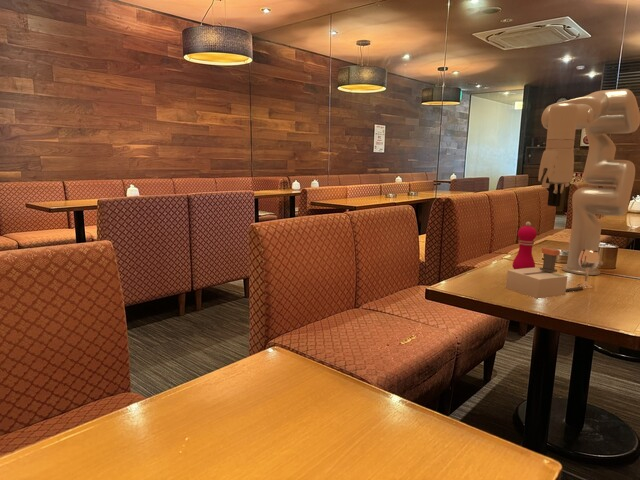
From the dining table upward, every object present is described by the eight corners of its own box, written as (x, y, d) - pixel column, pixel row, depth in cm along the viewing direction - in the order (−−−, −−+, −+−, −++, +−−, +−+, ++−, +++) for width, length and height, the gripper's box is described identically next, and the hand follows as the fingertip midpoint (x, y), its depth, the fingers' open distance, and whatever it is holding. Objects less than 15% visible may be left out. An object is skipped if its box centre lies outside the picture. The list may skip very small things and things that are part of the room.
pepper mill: (529, 275, 161) (535, 220, 157) (536, 281, 154) (543, 223, 150) (508, 274, 162) (514, 219, 158) (515, 280, 155) (521, 222, 151)
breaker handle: (546, 268, 145) (548, 247, 143) (557, 271, 141) (560, 250, 139) (538, 269, 143) (541, 248, 142) (550, 272, 139) (553, 251, 138)
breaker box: (554, 282, 153) (556, 265, 152) (587, 292, 142) (589, 273, 141) (505, 288, 144) (507, 269, 143) (537, 299, 133) (539, 279, 132)
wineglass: (575, 286, 148) (580, 251, 146) (575, 282, 153) (579, 248, 151) (595, 289, 145) (601, 253, 143) (594, 285, 150) (599, 250, 148)
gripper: (566, 145, 142) (559, 203, 146) (531, 145, 137) (526, 205, 140) (588, 145, 136) (581, 206, 139) (552, 145, 130) (546, 208, 134)
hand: (553, 205), depth 140 cm, fingers closed
